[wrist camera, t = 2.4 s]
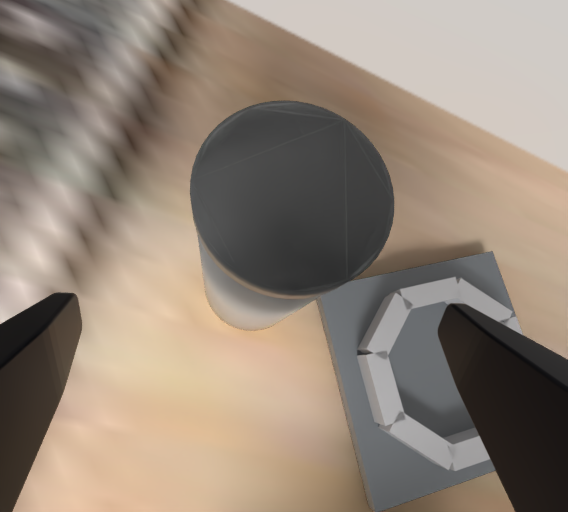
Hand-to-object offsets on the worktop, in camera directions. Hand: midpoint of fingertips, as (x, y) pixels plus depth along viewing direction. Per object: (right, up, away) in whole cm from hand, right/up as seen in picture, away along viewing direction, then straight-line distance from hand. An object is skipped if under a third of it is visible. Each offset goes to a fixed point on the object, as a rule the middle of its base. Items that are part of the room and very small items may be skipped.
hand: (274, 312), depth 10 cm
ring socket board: (+8, -4, +10) cm, 13 cm away
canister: (-1, 0, +10) cm, 10 cm away
